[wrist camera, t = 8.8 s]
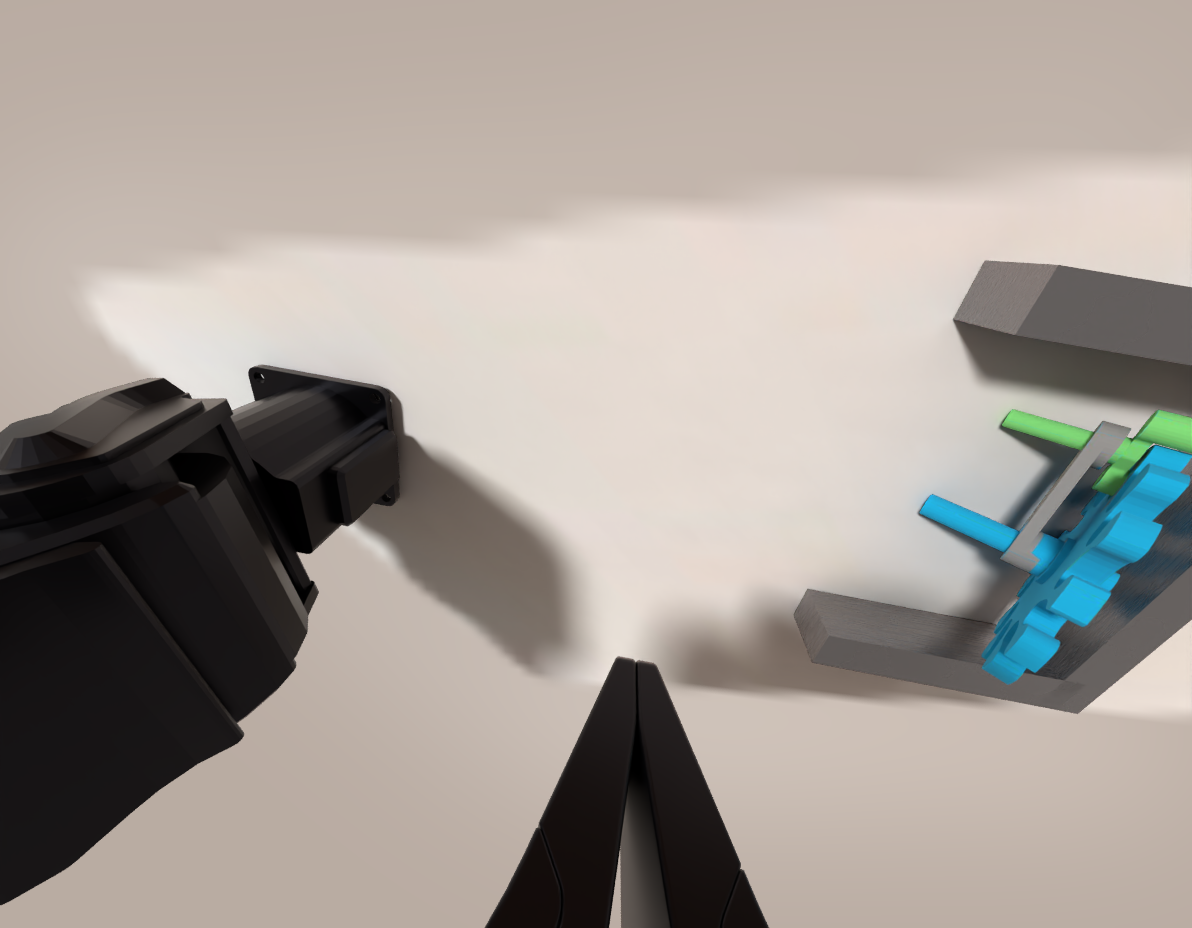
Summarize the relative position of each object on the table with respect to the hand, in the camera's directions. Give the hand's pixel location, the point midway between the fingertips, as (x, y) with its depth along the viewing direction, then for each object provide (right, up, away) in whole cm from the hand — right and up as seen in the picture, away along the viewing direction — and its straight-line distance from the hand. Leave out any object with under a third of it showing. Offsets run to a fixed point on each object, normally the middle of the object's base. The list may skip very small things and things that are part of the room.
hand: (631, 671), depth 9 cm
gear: (+18, +3, +10) cm, 21 cm away
